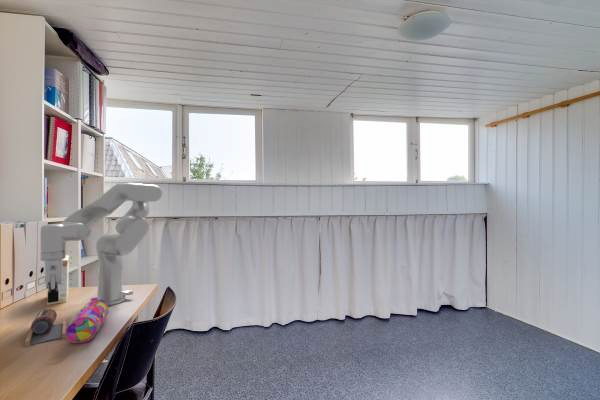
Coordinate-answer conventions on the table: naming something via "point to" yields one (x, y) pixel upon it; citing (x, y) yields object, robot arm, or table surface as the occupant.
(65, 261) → the coffeecake box
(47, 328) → the supplement bottle
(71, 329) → the pencil case
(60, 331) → the cradle mat
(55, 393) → the table surface
